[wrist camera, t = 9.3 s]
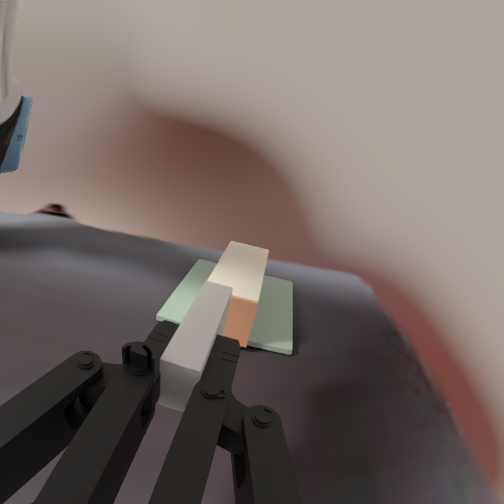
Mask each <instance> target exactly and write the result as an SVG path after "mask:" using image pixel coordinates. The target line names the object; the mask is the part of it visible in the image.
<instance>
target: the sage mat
mask: <svg viewBox="0 0 504 504" xmlns="http://www.w3.org/2000/svg"><path fill="white" fill-rule="evenodd" d="M216 265H217V263H214V262H210V261H206V260H202V259H198V261H197V262H196V263H195V265H194V266H193V267H192V269H191V270H190V271H189V272H188V274H187V275H186V276H185V278H184V279H183V280H182V282H181V283H180V284H179V286H178V287H177V288H176V290H175V291H174V292H173V294H172V295H171V296H170V298H169V299H168V300H167V302H166V303H165V304H164V306H163V307H162V308H161V310H160V311H159V312H158V314H157V315H156V320H159V321H163V320H167V321H170V322H174V323H177V324H180V323H181V322H182V320H183V318H184V317H185V315H186V313H187V311H188V310H189V308H190V306H191V305H192V303H193V301H194V300H195V298H196V296H197V294H198V293H199V291H200V289H201V288H202V286H203V284H204V283H205V281H207V280H208V278H209V277H210V275H211V273H212V272H213V270H214V268H215V267H216ZM292 337H293V282H291V281H287V280H283V279H279V278H275V277H271V276H266V275H264V277H263V281H262V286H261V291H260V296H259V301H258V305H257V309H256V313H255V317H254V320H253V324H252V328H251V332H250V335H249V339H248V343H247V345H248V346H252V347H257V348H261V349H265V350H270V351H274V352H279V353H283V354H288V355H291V353H292Z"/></svg>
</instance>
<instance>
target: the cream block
mask: <svg viewBox="0 0 504 504" xmlns="http://www.w3.org/2000/svg"><path fill="white" fill-rule="evenodd" d="M268 252H269V250H267V249H262V248H258V247H254V246H250V245H247V244H242V243H238V242H234V241H231V242H230V243H229V245H228V247H227V248H226V250H225V252H224V253H223V255H222V257H221V258H220V260H219V262H218V263H217V265H216V267H215V268H214V270H213V272H212V273H211V275H210V277H209V278H208V280H207V281H210V282H214V283H218V284H221V285H225V286H229V287H233V290H232V295H231V300H230V304H229V309H228V313H227V318H226V323H225V327H224V330H223V333H222V336H225V337H229V338H233V339H236V340H238V341H239V344H240V346H242V347H246V346H247V343H248V339H249V335H250V332H251V328H252V324H253V320H254V317H255V313H256V309H257V305H258V301H259V296H260V291H261V286H262V281H263V277H264V272H265V267H266V262H267V257H268Z"/></svg>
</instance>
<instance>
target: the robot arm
mask: <svg viewBox="0 0 504 504" xmlns="http://www.w3.org/2000/svg"><path fill="white" fill-rule="evenodd" d="M18 3H19V0H0V174H1V173H5V172H12V171H15V170H16V169H17V168H18V167H19V165H20V163H21V158H22V154H23V148H24V143H25V138H26V133H27V128H28V122H29V117H30V113H31V108H32V98H31V97H29V96H27V95H23V96H21V85H20V84H19V82H18V80H17V79H16V78H15V77H13V76H12V54H13V53H12V52H13V41H14V31H15V23H16V15H17V9H18ZM232 290H233V287H229V286H225V285H221V284H218V283H214V282H210V281H205V283H204V284H203V286H202V288H201V289H200V291H199V293H198V294H197V296H196V298H195V300H194V301H193V303H192V305H191V306H190V308H189V310H188V311H187V313H186V315H185V317H184V318H183V320H182V322H181V323H180V324H177V323H174V322H170V321H167V320H163V321H162V322H160V323H158V324H156V326H155V327H154V329H153V330H152V332H151V333H150V335H149V336H148V338H147V339H146V340H145V342H144V343H143V342H130V343H127V344H125V345H124V346H123V347H122V358H123V364H110V363H103V362H102V361H101V358H100V357H99V356H98V355H97V354H96V353H94V352H91V351H80V352H77V353H75V354H74V355H72V356H71V357H69V358H68V359H66V360H65V361H64V362H62V363H61V364H59V365H58V366H56V367H55V368H54V369H52V370H51V371H49V372H48V373H46V374H45V375H44V376H42V377H41V378H39V379H38V380H36V381H35V382H34V383H32V384H31V385H29V386H28V387H27V388H25V389H24V390H22V391H21V392H20V393H18V394H17V395H15V396H14V397H13V398H11V399H10V400H8V401H7V402H6V403H4V404H3V405H1V406H0V504H3V503H4V502H5V501H6V500H7V499H9V498H10V497H11V496H12V495H13V494H14V493H15V492H17V491H18V490H19V489H20V488H21V487H22V486H23V485H25V484H26V483H27V482H28V481H29V480H30V479H31V478H32V477H34V476H35V475H36V474H37V473H38V472H39V471H40V470H41V469H43V468H44V467H45V466H46V465H47V464H48V463H49V462H50V461H52V460H53V459H54V458H55V457H56V456H57V455H58V454H59V453H60V452H61V451H63V450H64V449H65V448H66V447H67V446H68V447H67V449H66V450H65V452H64V453H63V455H62V457H61V458H60V460H59V461H58V463H57V465H56V466H55V468H54V470H53V471H52V473H51V475H50V476H49V478H48V480H47V481H46V483H45V485H44V486H43V488H42V490H41V491H40V493H39V495H38V497H37V498H36V500H35V501H34V502H33V503H32V504H113V503H114V501H115V498H116V496H117V494H118V492H119V489H120V487H121V485H122V483H123V481H124V478H125V476H126V474H127V472H128V470H129V467H130V465H131V463H132V461H133V459H134V457H135V454H136V452H137V450H138V448H139V446H140V444H141V441H142V439H143V437H144V435H145V433H146V431H147V429H148V426H149V424H150V422H151V420H152V418H153V416H154V413H155V404H156V402H157V400H158V398H159V404H160V405H163V406H165V407H168V408H171V409H175V410H178V411H181V412H184V413H183V416H182V418H181V421H180V423H179V426H178V428H177V431H176V433H175V436H174V439H173V441H172V444H171V446H170V449H169V451H168V454H167V457H166V459H165V462H164V464H163V467H162V469H161V472H160V475H159V477H158V480H157V482H156V485H155V487H154V490H153V493H152V495H151V498H150V500H149V503H148V504H201V500H202V497H203V493H204V489H205V486H206V482H207V478H208V475H209V471H210V467H211V463H212V460H213V456H214V452H215V448H216V445H218V446H220V447H222V448H223V449H225V450H227V451H229V452H231V461H232V471H233V482H234V491H235V501H236V504H300V500H299V496H298V492H297V488H296V483H295V479H294V475H293V471H292V466H291V462H290V458H289V453H288V449H287V445H286V441H285V436H284V432H283V428H282V423H281V419H280V417H279V415H278V414H277V413H276V412H275V411H274V410H273V409H271V408H269V407H267V406H261V405H258V406H253V407H251V408H249V407H247V406H245V405H243V404H241V403H240V402H238V401H237V400H236V399H235V398H234V396H233V394H232V391H231V386H232V382H233V378H234V374H235V370H236V366H237V362H238V358H239V354H240V350H241V346H240V344H239V341H238V340H236V339H233V338H229V337H225V336H222V333H223V330H224V327H225V323H226V318H227V313H228V309H229V304H230V300H231V295H232Z"/></svg>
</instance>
